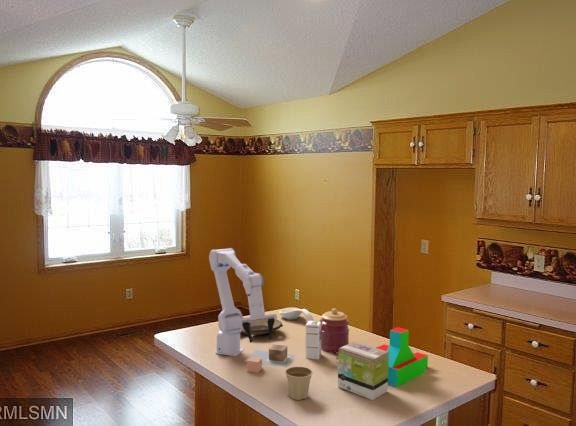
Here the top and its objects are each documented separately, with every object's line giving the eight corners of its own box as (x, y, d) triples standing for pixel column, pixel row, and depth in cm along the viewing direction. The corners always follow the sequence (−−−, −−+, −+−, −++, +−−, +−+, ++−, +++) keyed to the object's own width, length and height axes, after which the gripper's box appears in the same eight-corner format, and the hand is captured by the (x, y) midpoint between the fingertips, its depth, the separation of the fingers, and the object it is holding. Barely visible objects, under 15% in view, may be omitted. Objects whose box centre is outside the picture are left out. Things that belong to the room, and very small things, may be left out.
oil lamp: (258, 345, 219) (258, 328, 219) (215, 330, 240) (215, 314, 239) (292, 333, 236) (292, 317, 235) (249, 320, 256) (249, 305, 255)
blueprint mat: (243, 362, 198) (243, 361, 198) (255, 350, 212) (255, 350, 212) (286, 368, 193) (286, 367, 193) (296, 355, 207) (296, 354, 207)
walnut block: (268, 360, 201) (268, 349, 200) (273, 354, 206) (273, 344, 206) (282, 361, 199) (283, 350, 199) (287, 356, 205) (287, 345, 204)
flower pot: (283, 390, 173) (284, 366, 173) (310, 389, 174) (310, 365, 173) (285, 402, 164) (286, 377, 163) (314, 402, 165) (314, 376, 164)
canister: (334, 355, 207) (335, 314, 206) (312, 347, 217) (313, 307, 215) (355, 348, 216) (356, 309, 214) (333, 341, 225) (334, 302, 224)
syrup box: (319, 360, 202) (319, 325, 201) (305, 358, 203) (305, 324, 202) (321, 355, 208) (321, 321, 207) (307, 353, 209) (307, 320, 208)
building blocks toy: (432, 369, 195) (434, 323, 193) (396, 387, 177) (398, 337, 176) (392, 356, 208) (393, 313, 207) (355, 372, 191) (356, 325, 190)
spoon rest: (274, 317, 263) (274, 303, 262) (292, 313, 270) (292, 300, 269) (302, 328, 244) (302, 314, 243) (320, 324, 251) (320, 310, 250)
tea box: (336, 388, 176) (337, 347, 175) (352, 379, 184) (353, 340, 182) (373, 401, 166) (374, 358, 165) (388, 391, 174) (389, 350, 172)
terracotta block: (246, 372, 189) (246, 360, 189) (251, 367, 193) (251, 356, 193) (258, 373, 188) (258, 362, 188) (262, 369, 192) (262, 357, 192)
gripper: (236, 308, 189) (240, 344, 187) (273, 303, 189) (278, 339, 187) (239, 307, 196) (243, 342, 194) (275, 302, 196) (280, 336, 194)
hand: (261, 340), depth 191 cm, fingers open, 7 cm apart
